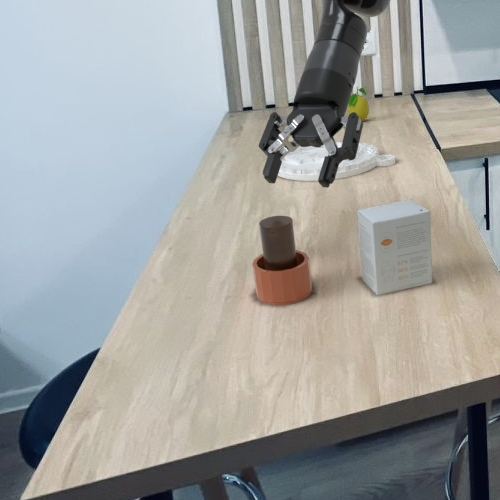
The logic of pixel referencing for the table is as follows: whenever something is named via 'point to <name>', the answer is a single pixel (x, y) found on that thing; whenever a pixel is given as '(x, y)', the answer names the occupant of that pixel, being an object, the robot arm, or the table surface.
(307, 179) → the medallion
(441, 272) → the table surface
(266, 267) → the peg
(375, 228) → the small box
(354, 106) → the lemon
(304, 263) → the socket cup
